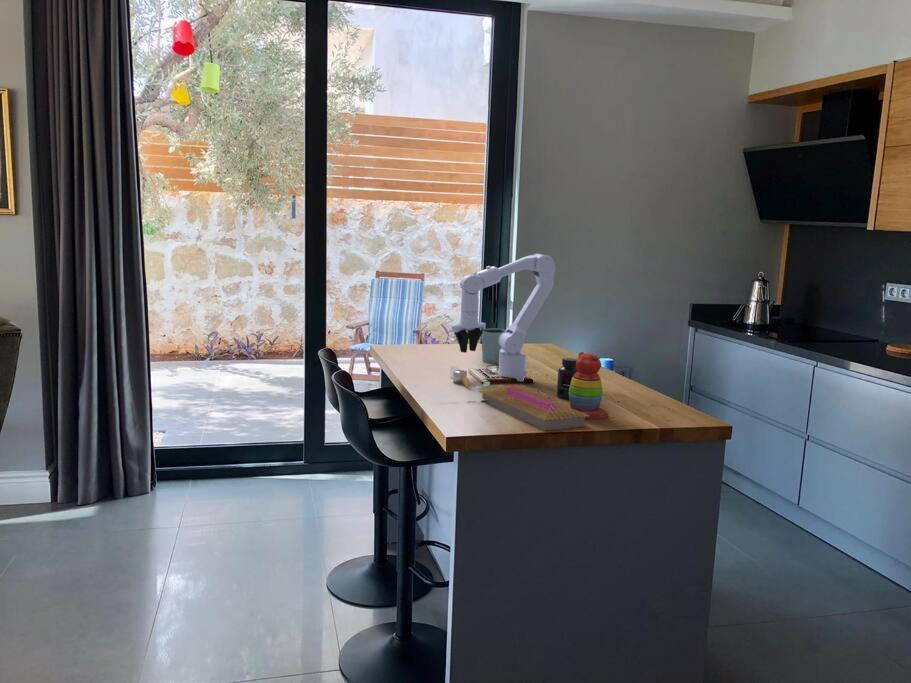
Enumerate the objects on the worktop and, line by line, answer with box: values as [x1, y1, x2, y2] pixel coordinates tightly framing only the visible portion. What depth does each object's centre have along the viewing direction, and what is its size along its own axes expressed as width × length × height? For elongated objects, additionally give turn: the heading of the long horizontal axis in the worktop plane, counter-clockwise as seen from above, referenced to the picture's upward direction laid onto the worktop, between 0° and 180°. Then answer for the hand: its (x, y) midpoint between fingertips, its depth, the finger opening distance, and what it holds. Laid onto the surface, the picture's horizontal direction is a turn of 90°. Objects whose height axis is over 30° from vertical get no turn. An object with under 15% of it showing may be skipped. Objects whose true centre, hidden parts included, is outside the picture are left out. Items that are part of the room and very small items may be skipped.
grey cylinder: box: [480, 328, 507, 365], centre depth 291 cm, size 10×10×12 cm
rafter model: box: [478, 385, 589, 431], centre depth 217 cm, size 35×14×6 cm, turn 28°
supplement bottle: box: [556, 357, 578, 400], centre depth 237 cm, size 7×7×12 cm
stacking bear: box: [568, 351, 609, 420], centre depth 216 cm, size 11×10×18 cm
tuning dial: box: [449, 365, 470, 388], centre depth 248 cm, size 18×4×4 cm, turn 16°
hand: (468, 351), depth 258 cm, fingers open, 4 cm apart
